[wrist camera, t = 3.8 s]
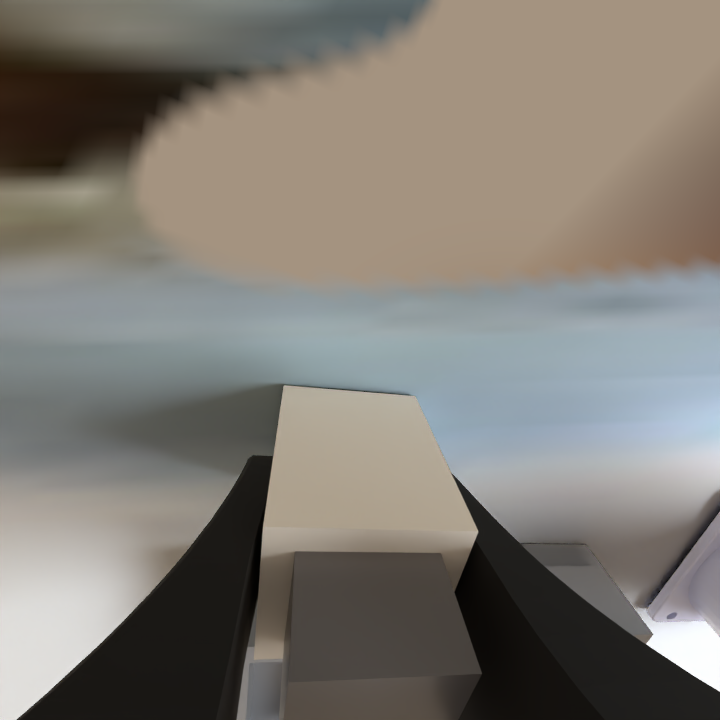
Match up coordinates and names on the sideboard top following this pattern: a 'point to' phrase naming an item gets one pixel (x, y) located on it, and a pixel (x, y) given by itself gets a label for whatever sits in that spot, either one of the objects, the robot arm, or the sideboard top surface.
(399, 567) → the connector
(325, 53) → the sideboard top surface
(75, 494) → the sideboard top surface
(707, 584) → the robot arm
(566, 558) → the walled box
